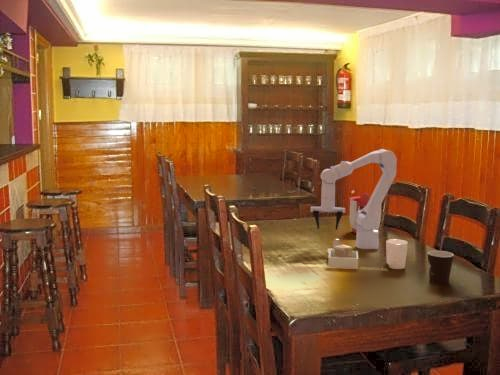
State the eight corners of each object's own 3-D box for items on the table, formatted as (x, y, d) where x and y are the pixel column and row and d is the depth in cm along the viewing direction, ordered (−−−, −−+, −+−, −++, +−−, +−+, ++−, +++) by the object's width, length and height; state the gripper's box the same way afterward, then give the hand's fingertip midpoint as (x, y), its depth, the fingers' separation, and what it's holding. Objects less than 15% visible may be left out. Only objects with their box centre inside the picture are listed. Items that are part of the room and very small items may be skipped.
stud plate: (344, 251, 227) (344, 237, 226) (344, 256, 220) (344, 241, 219) (327, 251, 228) (328, 236, 227) (327, 255, 221) (327, 240, 220)
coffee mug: (449, 286, 182) (450, 258, 181) (423, 282, 187) (424, 254, 185) (456, 277, 192) (457, 250, 191) (431, 273, 197) (432, 247, 195)
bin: (357, 260, 213) (357, 251, 213) (358, 268, 202) (358, 258, 202) (329, 259, 215) (329, 249, 215) (328, 267, 204) (328, 257, 204)
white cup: (406, 265, 208) (408, 240, 206) (405, 270, 200) (407, 244, 199) (386, 263, 210) (387, 238, 209) (384, 268, 203) (385, 243, 202)
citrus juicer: (344, 235, 257) (345, 194, 254) (352, 228, 273) (353, 189, 270) (377, 238, 251) (379, 196, 248) (383, 230, 267) (384, 191, 264)
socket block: (342, 260, 212) (343, 244, 211) (351, 262, 208) (351, 246, 207) (334, 262, 209) (334, 246, 209) (342, 264, 206) (343, 248, 205)
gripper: (310, 198, 224) (309, 230, 226) (345, 199, 221) (344, 231, 223) (311, 195, 230) (310, 226, 232) (345, 196, 228) (344, 227, 230)
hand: (327, 228), depth 228 cm, fingers open, 7 cm apart
